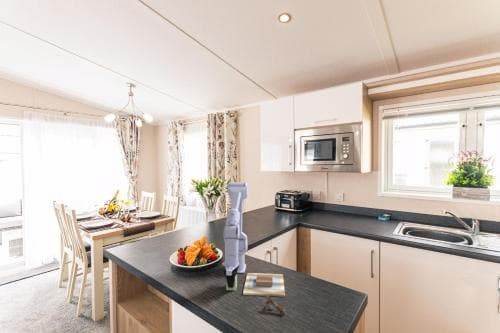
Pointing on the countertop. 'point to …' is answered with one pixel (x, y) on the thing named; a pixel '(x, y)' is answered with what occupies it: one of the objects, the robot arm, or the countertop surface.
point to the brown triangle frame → (274, 305)
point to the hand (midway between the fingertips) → (231, 284)
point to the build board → (264, 292)
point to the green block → (234, 284)
